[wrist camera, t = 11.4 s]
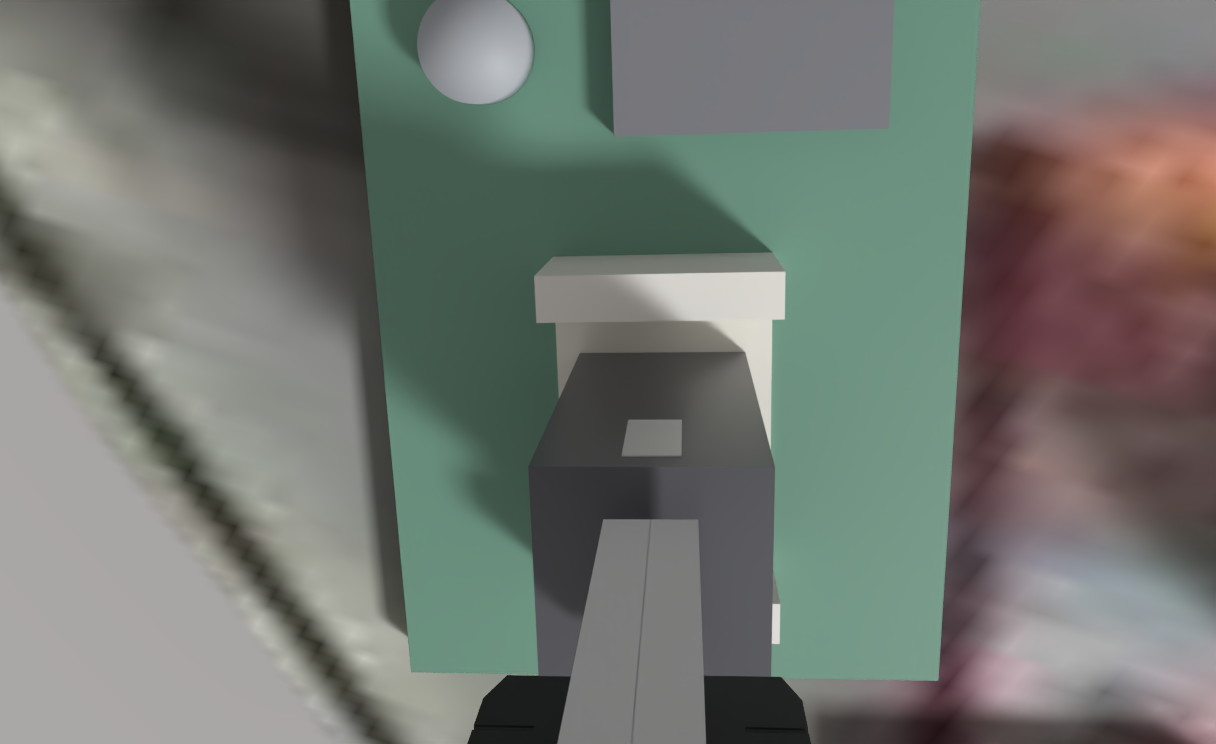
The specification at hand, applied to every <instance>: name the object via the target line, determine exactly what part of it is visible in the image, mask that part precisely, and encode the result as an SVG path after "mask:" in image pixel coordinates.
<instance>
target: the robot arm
mask: <svg viewBox="0 0 1216 744" xmlns="http://www.w3.org/2000/svg"><path fill="white" fill-rule="evenodd" d="M468 744H811V742H810V737H809V734H808V727H807V722H806V717H805V712H804V707H803V702H802V700H801V699H800V698H799V697H798V695H797V694H796V693H795V692H794V691H793V690H792V689H791V688H790V687H789V685H788V684H787V683H786V682H785V681H784V680H783V679H782V678H781V677H760V676H704V670H703V642H702V613H701V584H700V555H699V527H698V520H671V519H603V523H602V528H601V533H600V538H599V543H598V548H597V553H596V557H595V562H594V567H593V572H592V577H591V582H590V587H589V592H588V596H587V601H586V606H585V611H584V616H583V621H582V626H581V631H580V635H579V640H578V645H577V650H576V655H575V660H574V665H573V670H572V674H571V676H514V675H507V676H506V677H505V678H504V679H503V680H502V681H501V682H500V683H499V684H498V685H497V686H496V687H495V688H493V689H492V690H491V691H490V692H489V693H488V694H487V695H486V696H485V697H484V698H483V701H482V704H481V706H480V709H479V712H478V715H477V718H476V721H475V724H474V730H472V732H471V735H470V738H469V741H468Z"/></svg>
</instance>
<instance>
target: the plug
mask: <svg viewBox="0 0 1216 744" xmlns="http://www.w3.org/2000/svg"><path fill="white" fill-rule="evenodd" d="M528 472H529V492H530V513H531V533H532V553H533V574H534V594H535V615H536V635H537V655H538V676H571V674H572V670H573V665H574V660H575V655H576V650H577V645H578V640H579V635H580V631H581V626H582V621H583V616H584V611H585V606H586V601H587V596H588V592H589V587H590V582H591V577H592V572H593V567H594V562H595V557H596V553H597V548H598V543H599V538H600V533H601V528H602V523H603V519H671V520H698V527H699V555H700V584H701V613H702V642H703V670H704V676H760V677H771V658H772V606H773V553H774V500H775V465H774V461H773V457H772V453H771V449H770V446H769V442H768V438H767V434H766V430H765V426H764V422H763V419H762V415H761V411H760V407H759V403H758V399H757V395H756V392H755V388H754V384H753V380H752V376H751V372H750V368H749V365H748V361H747V357H746V353H745V352H645V353H580V354H579V356H578V358H577V360H576V362H575V365H574V367H573V369H572V371H571V374H570V376H569V378H568V380H567V382H566V385H565V387H564V389H563V391H562V393H561V396H560V398H559V400H558V402H557V404H556V407H555V409H554V411H553V413H552V415H551V418H550V420H549V422H548V424H547V426H546V429H545V431H544V433H543V435H542V437H541V440H540V442H539V444H538V446H537V448H536V451H535V453H534V455H533V457H532V459H531V462H530V464H529V466H528Z"/></svg>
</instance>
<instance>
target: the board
mask: <svg viewBox="0 0 1216 744" xmlns="http://www.w3.org/2000/svg"><path fill="white" fill-rule="evenodd" d="M980 3H981V0H350V9H351V20H352V31H353V42H354V53H355V64H356V75H357V86H358V97H359V108H360V118H361V129H362V140H363V151H364V162H365V173H366V184H367V195H368V206H369V217H370V228H371V239H372V250H373V260H374V271H375V282H376V293H377V304H378V315H379V326H380V337H381V348H382V359H383V370H384V381H385V392H386V403H387V413H388V424H389V435H390V446H391V457H392V468H393V479H394V490H395V501H396V512H397V523H398V534H399V545H400V556H401V566H402V577H403V588H404V599H405V610H406V621H407V632H408V643H409V654H410V665H411V672H433V673H495V674H538V655H537V635H536V615H535V594H534V574H533V553H532V533H531V513H530V492H529V472H528V466H529V464H530V462H531V459H532V457H533V455H534V453H535V451H536V448H537V446H538V444H539V442H540V440H541V437H542V435H543V433H544V431H545V429H546V426H547V424H548V422H549V420H550V418H551V415H552V413H553V411H554V409H555V407H556V404H557V402H558V400H559V398H560V396H561V393H562V391H563V389H564V387H565V385H566V382H567V380H568V378H569V376H570V374H571V371H572V369H573V367H574V365H575V362H576V360H577V358H578V356H579V354H580V353H645V352H745V353H746V357H747V361H748V365H749V368H750V372H751V376H752V380H753V384H754V388H755V392H756V395H757V399H758V403H759V407H760V411H761V415H762V419H763V422H764V426H765V430H766V434H767V438H768V442H769V446H770V449H771V453H772V457H773V461H774V465H775V500H774V553H773V606H772V658H771V677H781V678H805V679H867V680H929V681H938V676H939V660H940V644H941V628H942V612H943V596H944V580H945V564H946V548H947V532H948V516H949V500H950V484H951V468H952V452H953V436H954V420H955V404H956V388H957V372H958V356H959V340H960V324H961V308H962V292H963V276H964V260H965V244H966V228H967V211H968V195H969V179H970V163H971V147H972V131H973V115H974V99H975V83H976V67H977V51H978V35H979V19H980Z"/></svg>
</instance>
